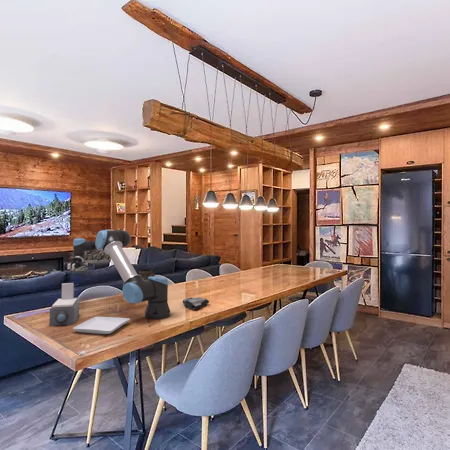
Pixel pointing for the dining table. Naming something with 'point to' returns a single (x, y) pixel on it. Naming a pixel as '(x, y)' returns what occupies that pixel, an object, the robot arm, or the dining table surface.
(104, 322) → the salad plate
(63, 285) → the side cover
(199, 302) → the dark grey flat lump
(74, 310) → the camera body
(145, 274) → the beer stein
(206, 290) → the dining table surface
